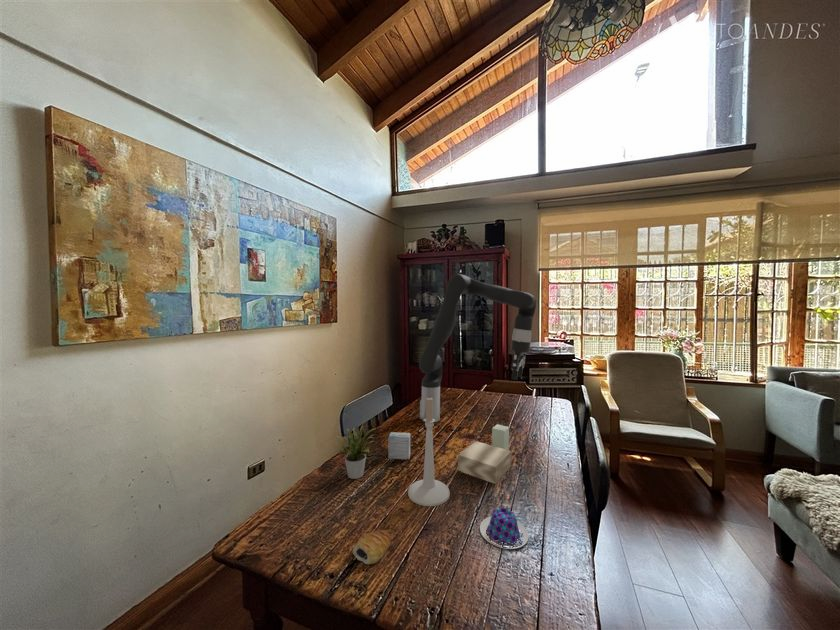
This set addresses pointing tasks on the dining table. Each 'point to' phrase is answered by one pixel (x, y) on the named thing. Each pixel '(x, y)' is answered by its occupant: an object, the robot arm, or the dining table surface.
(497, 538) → the pudding
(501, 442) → the pale green block
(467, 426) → the dining table surface
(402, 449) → the medicine box
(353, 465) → the house plant
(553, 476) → the dining table surface
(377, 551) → the pastry
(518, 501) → the dining table surface
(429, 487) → the candlestick
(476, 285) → the robot arm
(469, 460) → the oak block
